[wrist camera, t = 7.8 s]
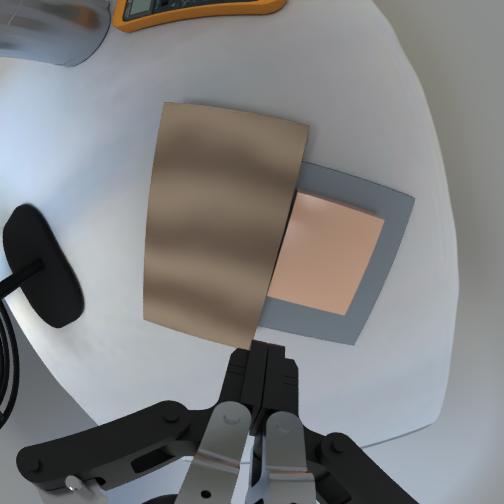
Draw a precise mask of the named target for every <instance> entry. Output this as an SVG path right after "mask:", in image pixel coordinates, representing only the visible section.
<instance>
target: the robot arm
mask: <svg viewBox="0 0 504 504" xmlns="http://www.w3.org/2000/svg"><path fill="white" fill-rule="evenodd" d="M109 4H110V3H109V2H108V1H106V0H0V57H9V58H18V59H26V60H33V61H39V62H45V63H51V64H55V65H61V66H66V67H72V66H75V65H78V64H79V63H81V62H83V61H84V60H86V59H87V58H88V57H89V56H90V55H91V54H92V53H93V52H94V51H95V50H96V49H97V47H98V46H99V45H100V43H101V42H102V40H103V39H104V37H105V35H106V33H107V30H108V27H109V23H110V14H109V11H108V6H109ZM249 430H250V431H249ZM248 432H249V435H250V436H255V440H254V445H253V447H252V449H251V454H250V471H249V487H248V491H247V494H246V499H245V504H316V500H317V501H318V502H319V503H320V504H419V503H417V501H415V500H414V499H413V498H412V497H411V496H410V495H409V494H408V493H406V492H405V491H404V490H403V489H402V488H401V487H400V486H399V485H398V484H397V483H396V482H394V481H393V480H392V479H391V478H390V477H389V476H388V475H387V474H386V473H385V472H384V471H383V470H382V469H380V467H379V466H378V465H376V463H375V462H373V460H372V459H370V458H369V457H368V456H367V455H366V454H365V453H364V452H363V451H362V450H361V449H360V448H359V447H358V446H357V445H356V444H355V442H354V441H353V440H352V439H351V438H349V437H348V436H347V435H345V434H343V433H338V432H334V433H330V434H328V435H326V436H324V435H321V434H318V433H316V432H313V431H311V430H309V429H308V428H306V427H305V426H304V425H303V424H302V422H301V420H300V419H299V414H298V367H297V365H296V363H295V361H294V360H293V359H288V358H285V346H280V345H276V344H271V343H269V344H268V343H266V342H262V341H257V340H253V339H252V340H251V344H250V347H249V350H246V349H242V348H237V349H236V350H235V351H234V352H233V353H232V354H231V356H230V360H229V364H228V367H227V371H226V375H225V378H224V382H223V386H222V390H221V393H220V397H219V400H218V402H217V403H216V404H215V405H214V406H213V407H211V408H208V409H205V410H188V409H187V408H186V407H185V406H184V405H182V404H181V403H179V402H176V401H170V400H167V401H162V402H159V403H157V404H154V405H152V406H150V407H147V408H145V409H142V410H140V411H137V412H135V413H132V414H130V415H127V416H125V417H122V418H119V419H117V420H114V421H111V422H109V423H106V424H103V425H100V426H97V427H94V428H91V429H88V430H86V431H82V432H79V433H76V434H73V435H69V436H66V437H63V438H59V439H56V440H52V441H48V442H44V443H41V444H36V445H32V446H28V447H24V448H23V449H21V450H20V451H19V453H18V455H17V458H16V464H17V467H18V470H19V472H20V473H21V475H22V476H23V477H24V478H25V479H27V480H28V481H30V482H32V484H33V485H34V486H35V487H36V488H37V489H38V491H39V494H40V496H41V498H42V500H43V502H44V504H107V502H108V497H107V493H106V491H107V490H109V489H112V488H115V487H118V486H120V485H123V484H125V483H128V482H130V481H133V480H135V479H137V478H140V477H142V476H144V475H146V474H149V473H151V472H153V471H155V470H157V469H160V468H162V467H164V466H166V465H168V464H169V463H171V462H173V461H176V460H178V459H180V458H181V457H183V456H194V458H193V460H192V462H191V464H190V467H189V469H188V472H187V474H186V477H185V479H184V482H183V484H182V486H181V489H180V491H179V493H178V494H170V495H163V496H159V497H156V498H153V499H151V500H148V501H147V502H144V503H142V504H230V502H231V499H232V495H233V492H234V488H235V485H236V482H237V478H238V474H239V470H240V461H241V458H242V454H243V450H244V447H245V443H246V439H247V435H248Z"/></svg>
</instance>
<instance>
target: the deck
mask: <svg viewBox="0 0 504 504" xmlns="http://www.w3.org/2000/svg"><path fill="white" fill-rule="evenodd" d="M309 127H310V126H309V125H305V124H301V123H297V122H293V121H289V120H284V119H280V118H275V117H271V116H266V115H261V114H256V113H250V112H245V111H239V110H233V109H226V108H219V107H212V106H204V105H195V104H185V103H173V102H164V107H163V111H162V116H161V121H160V127H159V132H158V138H157V143H156V149H155V156H154V162H153V169H152V177H151V185H150V193H149V202H148V212H147V224H146V237H145V255H144V285H143V318H144V320H146V321H149V322H152V323H155V324H158V325H161V326H164V327H167V328H170V329H173V330H176V331H179V332H182V333H186V334H189V335H192V336H195V337H199V338H202V339H206V340H209V341H213V342H216V343H220V344H224V345H227V346H231V347H235V348H242V349H246V350H249V347H250V344H251V340H252V339H254V335H255V332H256V329H257V325H258V322H259V318H260V315H261V311H262V308H263V304H264V301H265V297H266V294H267V290H268V287H269V283H270V279H271V276H272V272H273V269H274V265H275V261H276V258H277V254H278V250H279V246H280V243H281V239H282V235H283V231H284V228H285V224H286V220H287V216H288V212H289V208H290V205H291V201H292V197H293V193H294V189H295V185H296V181H297V177H298V173H299V169H300V165H301V161H302V157H303V152H304V148H305V144H306V140H307V136H308V131H309Z"/></svg>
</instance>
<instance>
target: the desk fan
mask: <svg viewBox="0 0 504 504" xmlns="http://www.w3.org/2000/svg"><path fill="white" fill-rule="evenodd" d="M3 247H4V251H5V255H6V258H7V261H8V264H9V266H10V268H11V270H12V272H13V274H12V275H10V276H9V277H7V278H5V279H4V280H2V281H1V282H0V312H1V314H2V316H3V319H4V321H5V324H6V327H7V330H8V334H9V337H10V342H11V347H12V353H13V365H14V374H13V385H12V391H11V395H10V399H9V402H8V405H7V407H6V409H5V411H4V413H3V414H2V413H1V411H0V429H1V428H2V427H3V425H4V424H5V423H6V421H7V420H8V418H9V416H10V414H11V412H12V410H13V407H14V404H15V401H16V397H17V393H18V387H19V355H18V348H17V342H16V338H15V334H14V330H13V327H12V324H11V321H10V318H9V316H8V313H7V311H6V309H5V307H4V304H3V302H2V299H3V298H4V297H6V296H7V295H9V294H10V293H11V292H13V291H14V290H16V289H17V288H18V287H21V289H22V291H23V293H24V294H25V296H26V298H27V299H28V301H29V303H30V304H31V306H32V307H33V309H34V310H35V312H36V313H37V314H38V315H39V316H40V317H41V318H42V319H43V320H44V321H45V322H46V323H47V324H49V325H50V326H52V327H54V328H62V327H64V326H66V325H68V324H70V323H71V322H73V321H75V320H77V319H78V318H79V317H80V315H81V313H82V299H81V295H80V291H79V289H78V286H77V283H76V281H75V279H74V277H73V275H72V273H71V271H70V270H69V268H68V266H67V264H66V263H65V261H64V259H63V257H62V256H61V254H60V252H59V250H58V248H57V246H56V244H55V242H54V241H53V239H52V237H51V235H50V233H49V231H48V229H47V227H46V225H45V223H44V221H43V220H42V218H41V217H40V215H39V214H38V213H37V212H36V211H35V210H34V209H33V208H32V207H30V206H28V205H21V206H18V207H17V208H16V209H15V210H14V212H13V213H12V215H11V216H10V218H9V220H8V221H7V223H6V225H5V227H4V229H3ZM0 333H1V337H2V341H1V338H0V405H1V403H2V401H3V398H4V396H5V393H6V390H7V386H8V380H9V368H10V367H9V366H10V364H9V363H10V360H9V349H8V342H7V337H6V333H5V329H4V326H3V323H2V320H1V318H0ZM2 342H3V346H2ZM3 348H4V354H3ZM4 359H5V369H4Z"/></svg>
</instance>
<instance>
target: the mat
mask: <svg viewBox="0 0 504 504" xmlns="http://www.w3.org/2000/svg"><path fill="white" fill-rule="evenodd" d="M297 188H298V189H302V190H305V191H309V192H312V193H315V194H319V195H322V196H325V197H328V198H331V199H335V200H338V201H341V202H344V203H347V204H350V205H353V206H356V207H359V208H362V209H365V210H368V211H370V212H373V213H376V214H377V215H379V216H380V217H381V218H382V219H384V220H385V221H384V224H383V226H382V229H381V232H380V235H379V237H378V240H377V242H376V245H375V248H374V250H373V253H372V255H371V258H370V260H369V262H368V265H367V267H366V270H365V272H364V274H363V277H362V279H361V281H360V284H359V286H358V288H357V290H356V292H355V295H354V297H353V299H352V301H351V303H350V305H349V308H348V310H347V312H346V314H345V315H340V314H336V313H332V312H328V311H324V310H320V309H316V308H312V307H308V306H304V305H300V304H296V303H292V302H288V301H284V300H281V299H277V298H273V297H269V296H267V294H266V297H265V301H264V304H263V308H262V311H261V315H260V318H259V322H258V325H257V326H261V327H266V328H270V329H274V330H279V331H283V332H288V333H292V334H297V335H301V336H306V337H311V338H316V339H321V340H326V341H332V342H337V343H343V344H348V345H354V344H355V342H356V341H357V339H358V337H359V335H360V333H361V331H362V329H363V327H364V325H365V323H366V321H367V319H368V317H369V315H370V313H371V311H372V309H373V307H374V305H375V303H376V300H377V298H378V296H379V294H380V292H381V289H382V287H383V285H384V283H385V280H386V278H387V276H388V273H389V271H390V268H391V266H392V264H393V261H394V259H395V256H396V253H397V251H398V248H399V246H400V243H401V240H402V237H403V235H404V232H405V229H406V226H407V223H408V220H409V217H410V214H411V211H412V208H413V205H414V201H415V198H413V197H410V196H408V195H405V194H403V193H400V192H397V191H395V190H392V189H389V188H386V187H384V186H381V185H378V184H375V183H372V182H369V181H366V180H363V179H360V178H357V177H354V176H351V175H348V174H344V173H341V172H338V171H335V170H331V169H328V168H324V167H321V166H317V165H314V164H310V163H306V162H302V161H301V165H300V169H299V173H298V177H297V181H296V185H295V189H294V193H293V197H292V201H291V205H290V208H289V212H288V216H287V220H286V224H287V221H288V217H289V214H290V210H291V207H292V203H293V200H294V196H295V193H296V189H297ZM286 224H285V227H286ZM284 231H285V228H284ZM284 231H283V234H284ZM282 238H283V235H282ZM281 241H282V239H281ZM280 244H281V243H280ZM279 248H280V246H279ZM278 251H279V250H278Z"/></svg>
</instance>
